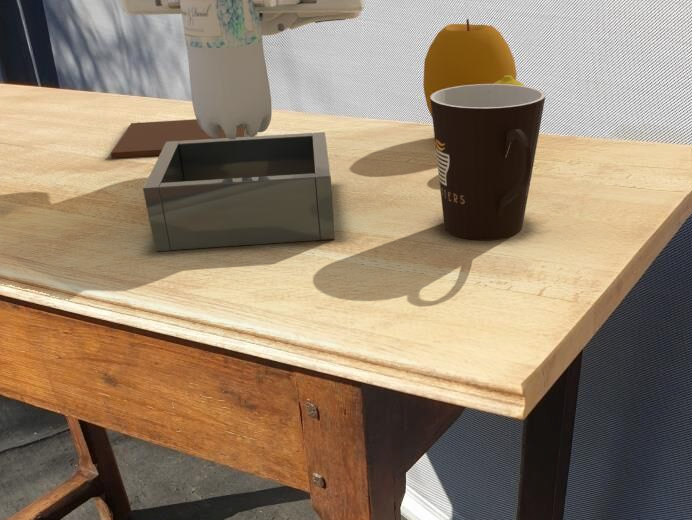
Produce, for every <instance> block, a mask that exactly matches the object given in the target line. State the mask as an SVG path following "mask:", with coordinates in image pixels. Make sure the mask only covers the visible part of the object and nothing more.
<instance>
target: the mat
mask: <svg viewBox="0 0 692 520" xmlns="http://www.w3.org/2000/svg"><path fill="white" fill-rule="evenodd" d="M245 132H246V129H245V126H244V124H243V126H242V127H237V136H236V137H245V136H244V135H245ZM219 138H227V137H226V135H225V132H224V130H223V129H220V135H219V137H218V138H212V137H210V136H208V135H207V134H206V132H204V131H203V130H202V129H201V127H200V125H199V124H198V121H197V119H196V118H195V119H194V118H193V119H178V120H161V121H144V122H131V123H130V124H129V126H128V127H127V129H126V130H125V131H124V133H123V134H122V136H121V137H120V139H119V140H118V142H117V143H116V144H115V146H114V147H113V149H112V150H111V152H110V157H111V159H122V158H137V157H140V158H141V157H153V156H160V154H161V152H162V150H163V148H164V146H165V144H166V142H169V141H186V140H203V139H219Z"/></svg>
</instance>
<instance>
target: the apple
mask: <svg viewBox="0 0 692 520" xmlns="http://www.w3.org/2000/svg"><path fill="white" fill-rule="evenodd" d="M465 22H466V23H451V24H447V25H445V26H444V27H443V28H442V29H441V30H439V31H438V33H437V34H436V36H434V37H435V38H434V39H433V40H432V42H431V44H430V45H429V47H428V50H427V52H426V56H425V58H424V62H423V64H424V67H423V83H422V84H423V94H424V97H425V102H426V106H427V109H428V111H429V113H430V116H431V117H432V109H431V100H430V96H431V95H432V94H433V93H435V92H437V91H439V90H442V89H446V88H451V87H457V86H465V85H476V84H494V83H495V82H497V81H499V80H502V78H503V77H504V76H506V75H510V76H512V77H513V79H514V80H517V74H518V72H517V67H516V62H515V58H514V56H513V53H512V50H511V47H510V46H509V44H508V43H507V41H506V40H505V38H504V37H503V35H502V33H501V32H500V31H499V30H498V29H497V28H495V26H493V25H491V24H490V25H487V24H472V23H471V24H470V21H469V18H467V19H466V20H465Z"/></svg>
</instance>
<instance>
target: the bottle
mask: <svg viewBox="0 0 692 520" xmlns="http://www.w3.org/2000/svg"><path fill="white" fill-rule="evenodd" d="M179 1H180V8H181V14H180V15H181V20H182V26H183V33H184V34H183V35H184V40H185V46H186V51H187V63H188V72H189V73H188V75H189V85H190V96H191V102H192V109H193V112H194V116H195V119H197V121H198V124H199V125H200V127H201V129H202V130H203V131H204V132H206V134H207V135H208V136H210V137H212V138H218V137H219V135H220V129H223V130H224V132H225V135H226V137H227V138H228V139H236V136H237V127H242V126H243V124H244V126H245V133H246V135H247V137H253V136H258V135H257V134H258V133H264V132H265V131H267V130H268V128H269V126H270V124H271V122H272V121H271V120H272V113H273V112H272V111H273V110H272V97H271V88H270V81H269V80H270V79H269V75H268V69H267V63H266V58H265V53H264V45H263V44H264V43H263V35H262V31H261V22H260V12H259V7H254V6H253V4H252V0H179Z"/></svg>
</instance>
